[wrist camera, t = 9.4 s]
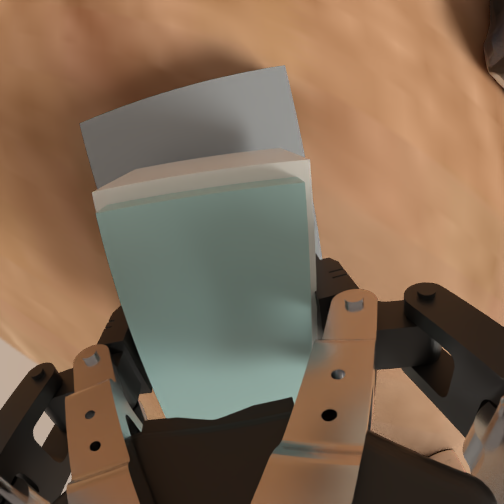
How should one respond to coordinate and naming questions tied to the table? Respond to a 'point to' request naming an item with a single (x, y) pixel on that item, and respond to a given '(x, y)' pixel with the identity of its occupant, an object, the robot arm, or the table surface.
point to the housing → (216, 276)
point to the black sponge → (495, 42)
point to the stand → (196, 125)
